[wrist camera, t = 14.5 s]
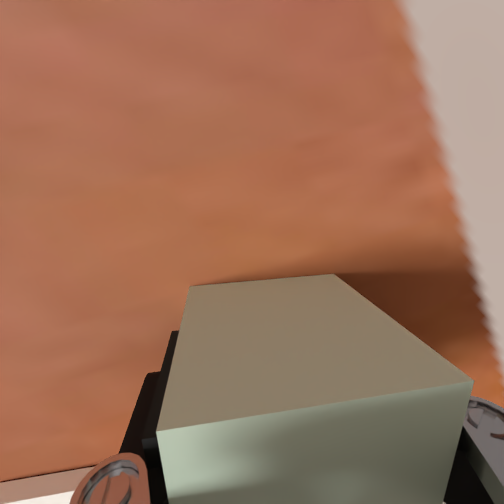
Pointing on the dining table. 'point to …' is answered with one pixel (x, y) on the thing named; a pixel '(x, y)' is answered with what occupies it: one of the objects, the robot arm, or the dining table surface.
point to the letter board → (43, 488)
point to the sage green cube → (305, 400)
